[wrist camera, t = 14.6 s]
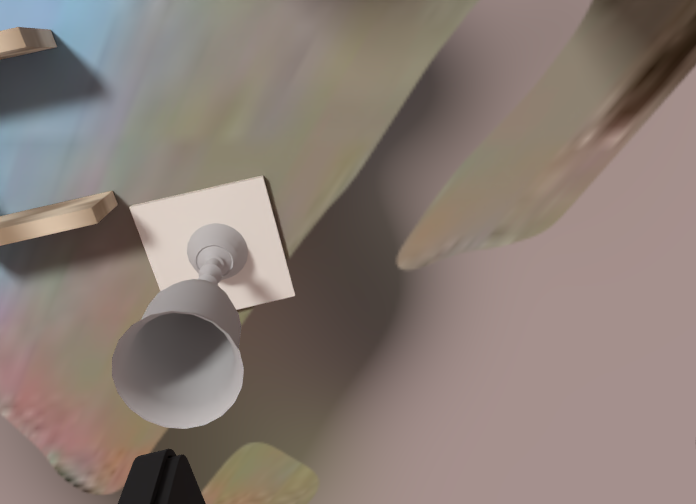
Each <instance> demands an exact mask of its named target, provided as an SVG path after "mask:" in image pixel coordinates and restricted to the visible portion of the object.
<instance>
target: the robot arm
mask: <svg viewBox="0 0 696 504" xmlns="http://www.w3.org/2000/svg"><path fill="white" fill-rule="evenodd" d="M118 504H206V503H205V501H204V499H203V496H202V494H201V491H200V489H199V487H198V484H197V481H196V479H195V477H194V474H193V472H192V469H191V467H190V464H189V462H188V460H187V458H186V456H184V455H178V456H176V454H175V452H174V451H173V450H172V449H166V450H162V451H158V452H154V453H149V454H145V455H141V456H138V457H137V458H135V460H134V462H133V464H132V467H131V470H130V472H129V475H128V478H127V480H126V483H125V486H124V489H123V491H122V494H121V497H120V499H119V503H118Z"/></svg>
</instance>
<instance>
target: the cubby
mask: <svg viewBox="0 0 696 504" xmlns="http://www.w3.org/2000/svg"><path fill="white" fill-rule="evenodd" d="M56 47H57V45H56V43H55V40H54V37H53V35H52V32H51V30H48V29H35V28H23V27H16V28H12V29H7V30H3V31H0V60H1V59H6V58H11V57H15V56H20V55H24V54H29V53H33V52H38V51H42V50H47V49H51V48H56ZM117 205H118V204H117V201H116V199H115V196H114V194H113V191H109V192H104V193H100V194H96V195H91V196H87V197H83V198H78V199H74V200H69V201H65V202H61V203H56V204H52V205H47V206H43V207H39V208H34V209H30V210H26V211H21V212H17V213H12V214H8V215H4V216H0V246H2V245H6V244H10V243H15V242H19V241H23V240H28V239H32V238H36V237H41V236H45V235H49V234H54V233H58V232H62V231H67V230H71V229H76V228H80V227H84V226H89V225H93V224H97V223H99V222H100V221H101V220H102V219H103V218H104V217H105V216H106V215H107V214H108V213H109V212H110V211H112V210H113V209H114V208H115V207H116V206H117Z"/></svg>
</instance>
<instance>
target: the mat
mask: <svg viewBox="0 0 696 504" xmlns="http://www.w3.org/2000/svg"><path fill="white" fill-rule="evenodd" d="M129 208H130V211H131V214H132V216H133V219H134V222H135V224H136V227H137V230H138V232H139V235H140V237H141V240H142V243H143V245H144V248H145V251H146V253H147V256H148V259H149V261H150V264H151V267H152V269H153V272H154V275H155V277H156V280H157V283H158V285H159V288H160V291H162V290H164V289H166V288H168V287H169V286H171V285H173V284H176V283H178V282H181V281H185V280H190V279H198V278H199V273H197V271H196V270H195V269H194V268H193V266H192V265H191V263H190V262H189V259H188V255H187V245H188V242H189V240H190V237H191V236H192V234H193V233H194V232H195V231H196V230H197V229H199V228H201V227H203V226H205V225H208V224H214V223H218V224H225V225H228V226H230V227H232V228H234V229H235V230H237V231H238V232H239V233H240V234H241V235H242V237H243V238H244V240H245V242H246V244H247V249H248V257H247V261H246V263H245V265H244V267H243V269H242V270H241V271H240V272H239V273H238V274H236V275H234V276H232V277H230V278H227V279H224V280H221V281H220V282H219V283H218V286H219V287H220V288H221V289H222V290H223V291H225V292H226V293H227V295H228V297H229V298H230V300H231V302H232V303H233V305H234V307H235V308H236V310H238V309H242V308H246V307H251V306H255V305H259V304H263V303H267V302H272V301H276V300H280V299H284V298H289V297H293V296H295V290H294V287H293V283H292V280H291V276H290V272H289V268H288V265H287V261H286V257H285V254H284V250H283V246H282V243H281V239H280V235H279V232H278V228H277V224H276V221H275V217H274V213H273V209H272V206H271V202H270V198H269V195H268V191H267V187H266V184H265V180H264V176H263V175H262V176H257V177H253V178H249V179H244V180H240V181H236V182H231V183H227V184H223V185H218V186H214V187H209V188H205V189H201V190H196V191H192V192H188V193H183V194H179V195H175V196H170V197H166V198H161V199H157V200H153V201H148V202H144V203H140V204H135V205H131V206H130V207H129Z"/></svg>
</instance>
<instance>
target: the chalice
mask: <svg viewBox="0 0 696 504" xmlns="http://www.w3.org/2000/svg"><path fill="white" fill-rule="evenodd" d="M187 255H188V259H189V262H190V263H191V265H192V266H193V268H194V269H195V270H196V271H197V273H199V278H198V279H190V280H185V281H181V282H178V283H176V284H173V285H171V286H169V287H168V288H166V289H164V290H162V291H161V292H159V293H158V294H157V295H156V297H155V298H154V299H153V300H152V301H151V302H150V304H149V306H148V307H147V309H146V311H145V313H144V315H143V317H142V319H141V320H140V321H138V322H137V323H135V324H133V325H132V326H131V327H130V328H129V329H128V330H127V331H126V332H125V334H124V335H123V336H122V337H121V338H120V339H119V341H118V344H117V346H116V349H115V351H114V354H113V357H112V377H113V380H114V383H115V386H116V388H117V391H118V394H119V395H120V396H121V398H122V399H123V400H124V402H125V403H126V404H127V406H128V407H129V408H130V409H131V410H132V411H134V412H135V413H137V414H138V415H139V416H141V417H142V418H143V419H145V420H147V421H149V422H152V423H155V424H158V425H160V426H163V427H169V428H183V429H186V428H191V427H196V426H201V425H205V424H207V423H209V422H211V421H213V420H215V419H217V418H218V417H220V416H222V415H223V414H224V413H225V412H226V411H227V410H228V409H229V408H230V407H231V406H232V405H233V404H234V402H235V400H236V398H237V396H238V394H239V392H240V390H241V387H242V381H243V372H244V368H243V364H242V360H241V356H240V351H239V350H238V348H239V341H240V332H241V323H240V319H239V315H238V312H237V310H236V308H235V307H234V305H233V303H232V302H231V300H230V298H229V297H228V295H227V293H226V292H225V291H223V290H222V289H221V288H220V287H219V286H218V283H219V282H220V281H221V280H224V279H227V278H230V277H232V276H234V275H236V274H238V273H239V272H240V271H241V270H242V269H243V267H244V265H245V263H246V261H247V257H248V249H247V244H246V242H245V240H244V238H243V237H242V235H241V234H240V233H239V232H238V231H237V230H235V229H234V228H232V227H230V226H228V225H225V224H218V223H214V224H208V225H205V226H203V227H201V228H199V229H197V230H196V231H195V232H194V233H193V234H192V236H191V237H190V240H189V242H188V245H187Z"/></svg>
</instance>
